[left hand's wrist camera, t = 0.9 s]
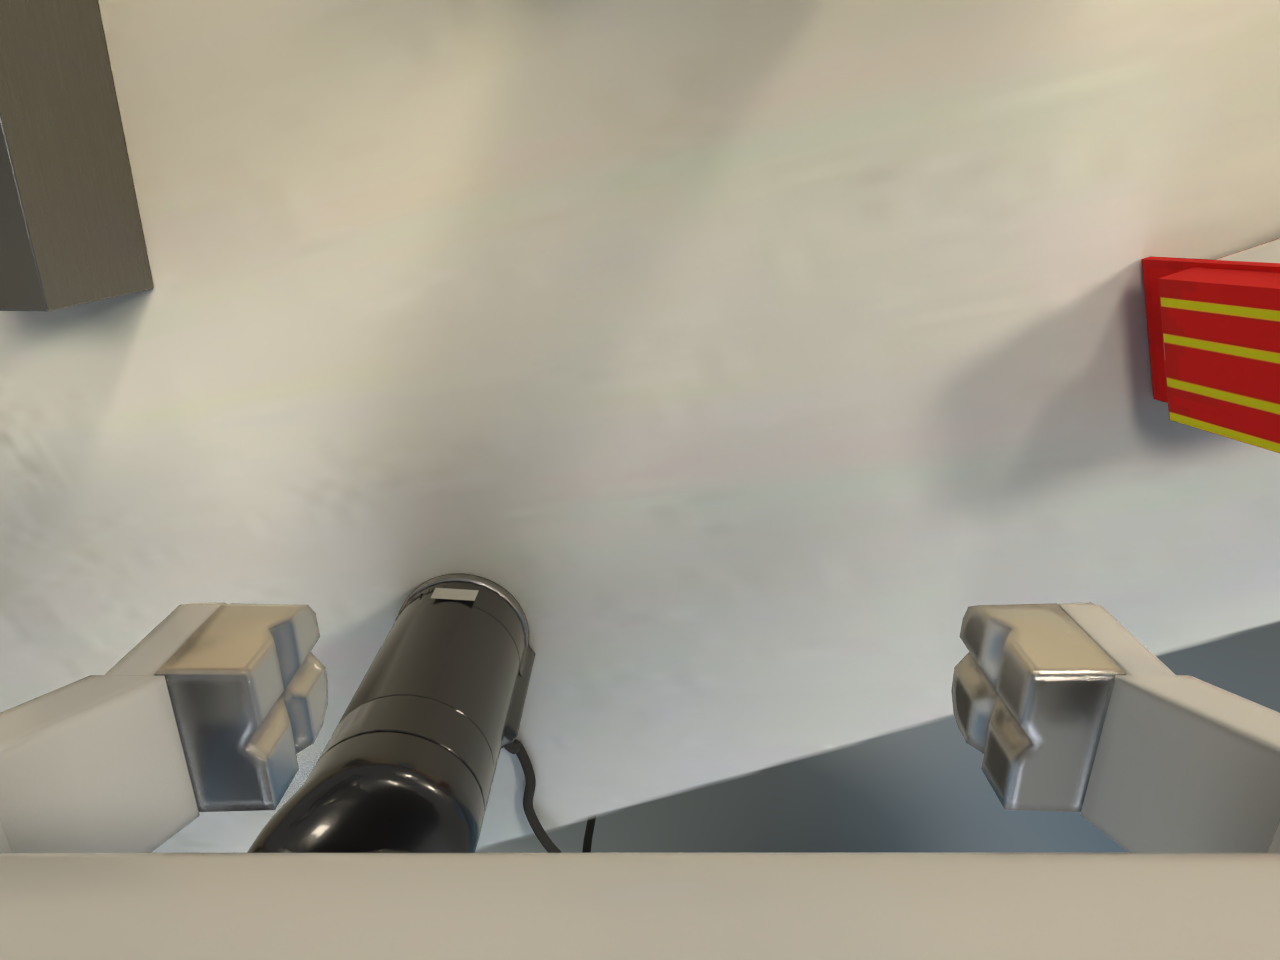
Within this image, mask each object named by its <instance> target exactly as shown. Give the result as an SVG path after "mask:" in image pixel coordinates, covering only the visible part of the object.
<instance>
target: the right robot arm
mask: <svg viewBox="0 0 1280 960" xmlns="http://www.w3.org/2000/svg"><path fill="white" fill-rule="evenodd" d="M528 641H529V629H528V623H527V619H526V617H525V614H524V612H523V610H522V608H521V607H520V605H519V603H518V602H517V601H516V600H515V598H514V597H513V596H512V595H511V594H510V593H509V592H507V591H506V590H505V589H504V588H502V587H501V586H499V585H498V584H496V583H494V582H492V581H490V580H488V579H485V578H482V577H479V576H475V575H470V574H448V575H443V576H439V577H436V578H433V579H431V580H428V581H426V582H425V583H423V584H421V585H420V586H419V587H417V588H416V589H415V590H414V591H413V592H412V593H411V594H410V595H409V596H408V598H407V599H406V601H405V602H404V604H403V606H402V608H401V610H400V612H399V614H398V617H397V618H396V620H395V623H394V625H393V627H392V629H391V630H390V632H389V634H388V635H387V637H386V639H385V641H384V643H383V644H382V646H381V648H380V650H379V652H378V654H377V655H376V657H375V659H374V661H373V663H372V664H371V666H370V668H369V670H368V672H367V673H366V675H365V677H364V679H363V681H362V682H361V684H360V686H359V688H358V690H357V691H356V693H355V695H354V697H353V699H352V700H351V702H350V704H349V706H348V708H347V710H346V711H345V713H344V715H343V717H342V719H341V720H340V722H339V724H338V726H337V728H336V729H335V731H334V733H333V735H332V737H331V739H330V740H329V742H328V744H327V746H326V748H325V749H324V751H323V753H322V755H321V756H320V758H319V760H318V762H317V764H316V765H315V767H314V768H313V770H312V772H311V774H310V775H309V777H308V779H307V780H306V782H305V783H304V784H303V785H302V787H301V788H300V789H299V790H298V791H297V792H296V793H295V794H294V795H293V796H292V797H291V798H290V799H289V800H288V801H287V802H286V803H285V804H284V805H283V806H282V807H281V808H280V809H279V810H278V811H277V812H276V814H275V815H274V816H273V817H272V818H271V819H270V821H269V822H268V823H267V824H266V826H265V827H264V828H263V830H262V831H261V832H260V834H259V835H258V837H257V838H256V840H255V841H254V843H253V844H252V846H251V847H250V849H249V850H248V852H247V853H475V850H476V846H477V843H478V839H479V836H480V831H481V827H482V823H483V818H484V815H485V811H486V807H487V803H488V798H489V794H490V790H491V786H492V782H493V777H494V773H495V769H496V765H497V761H498V757H499V753H500V749H501V748H503V747H504V748H505V749H506V750H507V751H509V752H510V753H512V754H516V755H517V757H518V758H519V761H520V763H521V765H522V768H523V770H524V774H525V778H526V787H525V792H524V798H523V807H524V811H525V814H526V817H527V819H528V821H529V823H530V826H531V828H532V829H533V831H534V833H535V835H536V836H537V838H538V839H539V841H540V842H541V844H542V845H543V847H544V848H545V849H546V850H547V852H548V853H562V852H561V851H560V850H559V849H558V848H557V847H556V846H555V845H554V843H553V842H552V841H551V840H550V838H549V837H548V835H547V834H546V832H545V831H544V829H543V828H542V826H541V824H540V822H539V820H538V818H537V816H536V814H535V811H534V809H533V795H534V791H535V775H534V771H533V768H532V765H531V762H530V760H529V757H528V755H527V753H526V751H525V749H524V747H523V745H522V744H521V742H520V741H519V740H514V739H515V738H516V737H517V734H518V730H519V725H520V721H521V716H522V712H523V707H524V703H525V698H526V694H527V689H528V685H529V680H530V676H531V671H532V667H533V662H534V658H535V652H534V651H533V650H532V649H531V648H530V646H529V644H528ZM595 820H596V815H595V816H592V817H589V818H588V820H587V825H586V830H585V835H584V841H583V850H582V853H591V845H592V837H593V832H594V826H595Z"/></svg>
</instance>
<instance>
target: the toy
mask: <svg viewBox="0 0 1280 960" xmlns="http://www.w3.org/2000/svg"><path fill="white" fill-rule="evenodd" d="M1142 266H1143V278H1144V290H1145V302H1146V314H1147V326H1148V338H1149V350H1150V362H1151V374H1152V386H1153V398H1154V399H1156V400H1159V401H1163V402H1166V403H1168V407H1169V420H1172V421H1175V422H1179V423H1182V424H1185V425H1188V426H1192V427H1195V428H1198V429H1202V430H1205V431H1208V432H1212V433H1215V434H1218V435H1221V436H1225V437H1228V438H1231V439H1235V440H1238V441H1241V442H1244V443H1248V444H1251V445H1254V446H1258V447H1261V448H1264V449H1267V450H1271V451H1274V452H1277V453H1280V239H1277V240H1274V241H1271V242H1268V243H1265V244H1262V245H1259V246H1256V247H1253V248H1250V249H1247V250H1244V251H1241V252H1238V253H1235V254H1232V255H1229V256H1226V257H1223V258H1220V259H1217V260H1206V259H1187V258H1167V257H1147V258H1144V259H1142Z"/></svg>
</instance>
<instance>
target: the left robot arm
mask: <svg viewBox="0 0 1280 960" xmlns="http://www.w3.org/2000/svg"><path fill="white" fill-rule="evenodd" d="M319 638H320V633H319V628H318V623H317V618H316V613H315V612H314V611H313V610H312V609H311V608H310V607H309V606H308V605H282V604H226V603H193V604H184V605H179V606H178V607H177V608H176V609H175V610H174V611H173V612H172V613H171V614H170V615H169V616H167V617H166V618H165V619H164V620H163V621H162V622H161V623H160V624H159V625H158V626H157V627H156V628H155V629H153V630H152V631H151V632H150V633H149V634H148V635H147V636H146V637H145V638H144V639H143V640H142V641H141V642H139V643H138V644H137V645H136V646H135V647H134V648H133V649H132V650H131V651H130V652H129V653H128V654H127V655H125V656H124V657H123V658H122V659H121V660H120V661H119V662H118V663H117V664H116V665H115V666H114V667H113V668H112V669H110V670H109V671H108V672H107V673H106V674H105V675H90V676H88V677H86V678H83V679H81V680H78V681H76V682H74V683H71V684H69V685H66V686H64V687H62V688H59V689H57V690H54V691H52V692H50V693H47V694H45V695H42V696H40V697H38V698H35V699H33V700H30V701H28V702H26V703H23V704H21V705H18V706H16V707H13V708H11V709H9V710H6V711H4V712H1V713H0V960H1280V713H1278V712H1276V711H1273V710H1271V709H1269V708H1266V707H1264V706H1261V705H1259V704H1257V703H1254V702H1252V701H1250V700H1247V699H1245V698H1242V697H1240V696H1237V695H1235V694H1233V693H1230V692H1228V691H1225V690H1223V689H1221V688H1218V687H1216V686H1214V685H1211V684H1209V683H1206V682H1204V681H1202V680H1199V679H1197V678H1194V677H1192V676H1189V675H1175V674H1174V673H1173V672H1172V671H1171V670H1170V669H1168V668H1167V667H1166V666H1165V665H1164V664H1163V663H1162V662H1161V661H1160V660H1159V659H1158V658H1157V657H1156V656H1155V655H1154V654H1152V653H1151V652H1150V651H1149V650H1148V649H1147V648H1146V647H1145V646H1144V645H1143V644H1142V643H1141V642H1140V641H1139V640H1137V639H1136V638H1135V637H1134V636H1133V635H1132V634H1131V633H1130V632H1129V631H1128V630H1127V629H1126V628H1125V627H1124V626H1122V625H1121V624H1120V623H1119V622H1118V621H1117V620H1116V619H1115V618H1114V617H1113V616H1112V615H1111V614H1110V613H1108V612H1107V611H1106V610H1105V609H1104V608H1103V607H1102V606H1100V605H1097V604H1094V603H1067V604H1019V605H978V606H971V607H968V609H967V611H966V613H965V615H964V617H963V621H962V627H961V632H960V638H961V639H962V641H963V642H964V644H965V645H966V647H967V649H968V650H969V653H968V654H967V655H966V656H965V657H964V658H963V659H962V660H961V661H960V662H959V663H958V664H957V665H956V666H955V668H954V676H953V683H952V701H953V711H954V715H955V718H956V722H957V725H958V728H959V730H960V732H961V734H962V736H963V737H964V739H965V741H966V743H968V744H969V745H971V746H972V747H974V748H975V749H977V750H979V751H980V752H982V753H983V754H984V756H983V762H982V767H981V769H982V771H983V773H984V774H985V776H986V778H987V780H988V781H989V783H990V785H991V786H992V788H993V790H994V791H995V793H996V795H997V797H998V798H999V800H1000V802H1001V804H1002V805H1003V807H1004V809H1005V810H1027V811H1063V812H1081V814H1080V815H1081V816H1082V817H1083V818H1085V819H1086V820H1087V821H1089V822H1090V823H1091V824H1093V825H1094V826H1095V827H1097V828H1098V829H1099V830H1100V831H1102V832H1103V833H1104V834H1106V835H1107V836H1108V837H1110V838H1111V839H1112V840H1114V841H1115V842H1116V843H1118V844H1119V845H1120V846H1122V847H1123V848H1124V849H1126V850H1127V851H1128V852H1129V853H151V852H152V851H153V850H155V849H156V848H157V847H159V846H160V845H161V844H163V843H164V842H165V841H167V840H168V839H169V838H171V837H172V836H173V835H175V834H176V833H177V832H179V831H180V830H181V829H182V828H184V827H185V826H186V825H188V824H189V823H190V822H192V821H193V820H194V819H196V818H197V817H198V816H199V812H216V811H251V810H275V809H276V807H277V805H278V804H279V802H280V800H281V799H282V797H283V795H284V793H285V792H286V790H287V788H288V786H289V785H290V783H291V781H292V780H293V778H294V776H295V774H296V773H297V771H298V769H299V767H298V762H297V756H296V754H297V753H298V752H300V751H301V750H303V749H305V748H306V747H308V746H309V745H311V744H313V743H314V741H315V739H316V737H317V735H318V734H319V732H320V730H321V728H322V726H323V722H324V717H325V713H326V709H327V705H328V681H327V674H326V668H325V666H324V665H323V664H322V663H321V662H320V661H319V660H318V659H317V658H316V657H315V656H314V655H313V654H312V653H311V650H312V649H313V647H314V645H315V644H316V642H317V641H318V639H319Z"/></svg>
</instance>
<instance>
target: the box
mask: <svg viewBox="0 0 1280 960" xmlns="http://www.w3.org/2000/svg"><path fill="white" fill-rule="evenodd" d="M149 289H153V282H152V277H151V272H150V267H149V262H148V257H147V252H146V246H145V241H144V236H143V231H142V226H141V221H140V216H139V211H138V206H137V200H136V195H135V190H134V185H133V180H132V175H131V170H130V165H129V160H128V154H127V149H126V144H125V139H124V134H123V129H122V124H121V119H120V113H119V108H118V103H117V98H116V93H115V88H114V83H113V78H112V73H111V67H110V62H109V57H108V52H107V47H106V42H105V37H104V32H103V26H102V21H101V16H100V11H99V6H98V1H97V0H0V311H51V310H55V309H60V308H65V307H69V306H74V305H79V304H83V303H88V302H93V301H97V300H102V299H107V298H111V297H116V296H121V295H125V294H130V293H135V292H139V291H144V290H149Z"/></svg>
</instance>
